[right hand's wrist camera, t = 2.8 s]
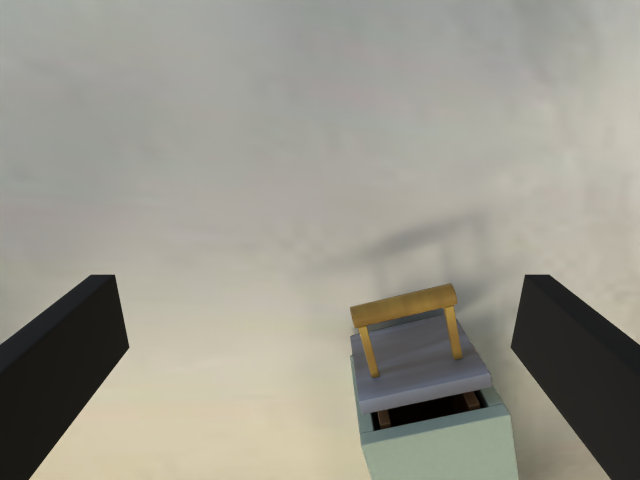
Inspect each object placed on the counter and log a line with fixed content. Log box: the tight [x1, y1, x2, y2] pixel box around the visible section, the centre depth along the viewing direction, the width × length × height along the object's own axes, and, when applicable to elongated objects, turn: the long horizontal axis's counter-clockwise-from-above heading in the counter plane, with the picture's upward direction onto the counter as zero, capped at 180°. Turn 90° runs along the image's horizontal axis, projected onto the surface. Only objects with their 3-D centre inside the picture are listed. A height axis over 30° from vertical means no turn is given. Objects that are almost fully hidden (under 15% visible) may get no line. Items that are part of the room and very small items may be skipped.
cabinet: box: [350, 356, 519, 480], centre depth 35 cm, size 22×10×10 cm, turn 15°
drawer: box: [350, 283, 492, 430], centre depth 33 cm, size 26×9×8 cm, turn 15°
